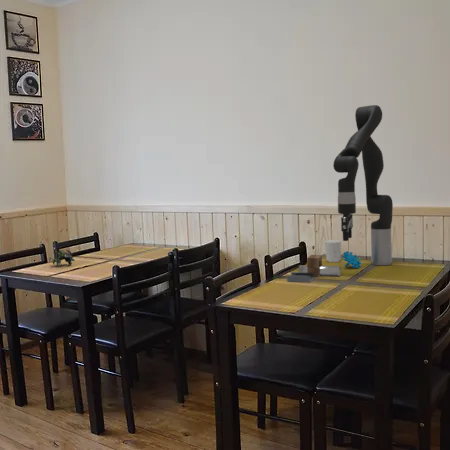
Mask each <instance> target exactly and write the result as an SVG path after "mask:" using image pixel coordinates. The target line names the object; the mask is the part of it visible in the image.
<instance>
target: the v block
mask: <svg viewBox="0 0 450 450" xmlns="http://www.w3.org/2000/svg"><path fill="white" fill-rule="evenodd" d="M286 276H287V277H286V281H287V282H288V283H311V282H312V281H313V280H314V279H315V277H314V273H307V272H299V271H298V272H297V271H291V273H290V274H287V275H286Z"/></svg>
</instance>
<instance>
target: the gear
mask: <svg viewBox="0 0 450 450" xmlns="http://www.w3.org/2000/svg"><path fill="white" fill-rule="evenodd" d="M342 254H343V255H342V258H344V262H347V263H346V264H345V265H344V266H345V268H347V267H348V266H350V265H351V266H350V267H351V268H353V269H354V268H355V269H359V268H361V267H362V261H360V260H361V257H358V258H357V254H354V253H353V252H352V251H347V250H346V251H344V252H343V253H342ZM353 254H354V255H353Z"/></svg>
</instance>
